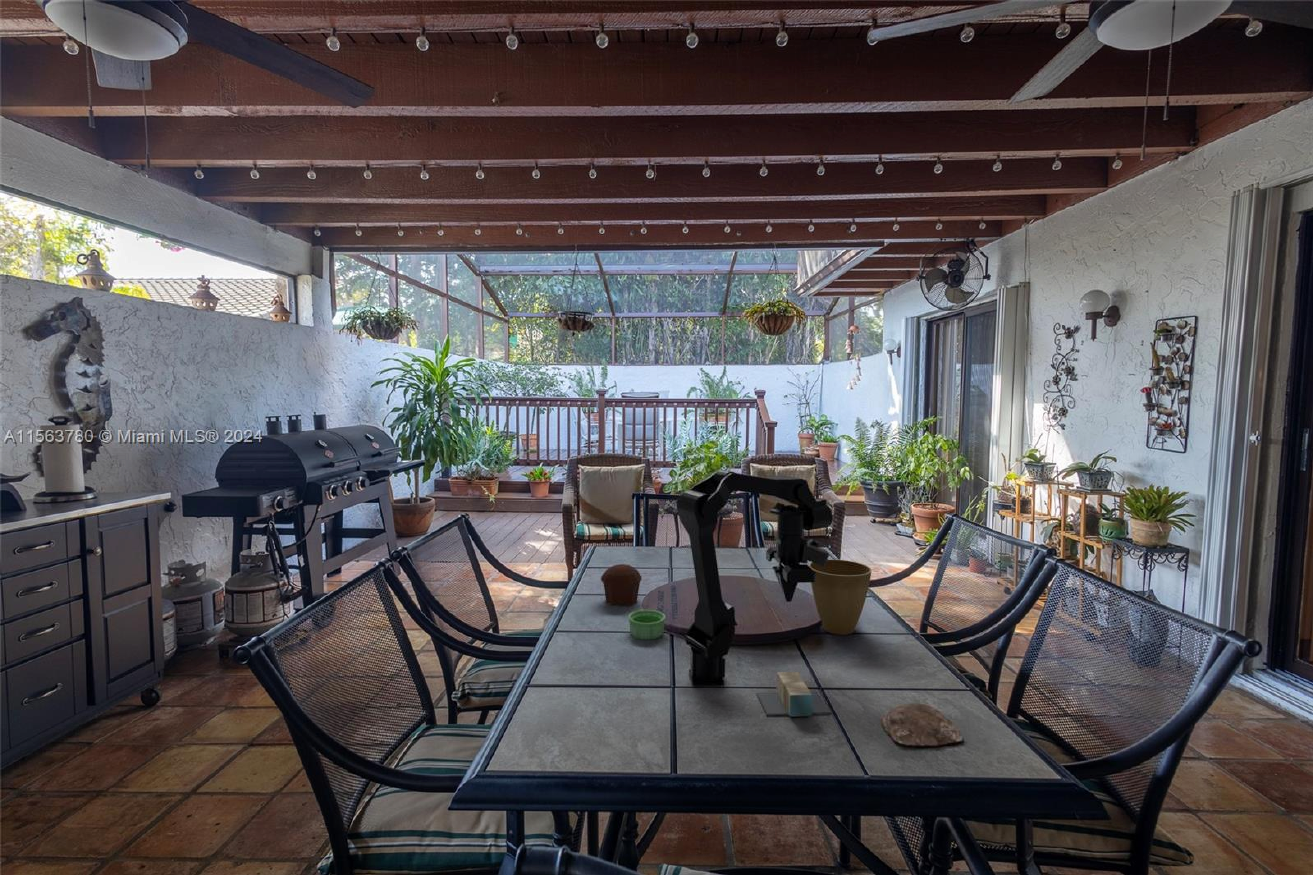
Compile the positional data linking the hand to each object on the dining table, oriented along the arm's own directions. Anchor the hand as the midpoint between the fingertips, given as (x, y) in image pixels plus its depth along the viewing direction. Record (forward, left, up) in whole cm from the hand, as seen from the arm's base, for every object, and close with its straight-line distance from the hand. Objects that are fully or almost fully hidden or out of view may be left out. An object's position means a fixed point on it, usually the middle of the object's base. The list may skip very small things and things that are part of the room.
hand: (788, 601), depth 137 cm
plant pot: (+17, +14, -13) cm, 25 cm away
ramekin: (-31, +14, -13) cm, 36 cm away
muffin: (-37, +37, -13) cm, 54 cm away
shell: (+15, -31, -13) cm, 37 cm away
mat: (-5, -21, -12) cm, 25 cm away
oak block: (-5, -26, -10) cm, 28 cm away
